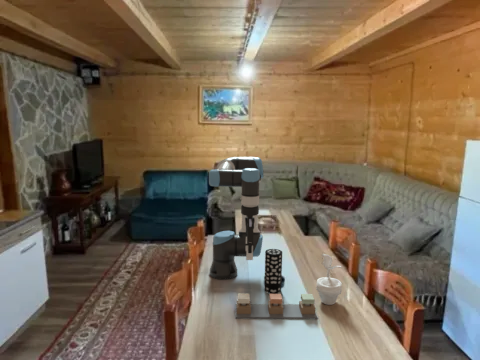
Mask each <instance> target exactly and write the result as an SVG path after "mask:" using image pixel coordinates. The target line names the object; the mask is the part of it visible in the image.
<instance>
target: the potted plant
mask: <svg viewBox="0 0 480 360" xmlns="http://www.w3.org/2000/svg"><path fill="white" fill-rule="evenodd" d="M320 255H321V258H322V260H323V261H322V262H321V265H322V266H323V267H324V269H326V276H324V277H319V278H317V280H316V287H315V289H316V291H317V292H318V295H319V298H320V301H321V303H322V304H325V305H329V306H331V305H334V304H336V302H337V300H338V297H339V295H341V294H342V291H343V289H342V288H343V283H342V282H341V280H340V279H337V278H335V277H331V270H334V269H335V268H338V269H339V268H341V269H342V268H343V267H342V266H341V265H333V266H332V264H333V257H332V256H330V255H329V254H326V253H324V252H322V253H321V254H320ZM316 261H317V263H319V262H320V260H319V259H317V260H316Z"/></svg>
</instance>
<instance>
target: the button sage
mask: <svg viewBox="0 0 480 360" xmlns="http://www.w3.org/2000/svg"><path fill="white" fill-rule="evenodd" d="M300 301H302V303H303V304H305V306H310V304H314V305H315V297H314V294H312V293H300Z"/></svg>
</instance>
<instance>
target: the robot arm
mask: <svg viewBox="0 0 480 360" xmlns="http://www.w3.org/2000/svg"><path fill="white" fill-rule="evenodd" d="M263 166H264V165H263V161H262V158H261V157H256V156H229V157H227V158H224V159H222V160H220V161H219V162H218V164H217V166H216V168H215V169H210V170H209V173H208V185H209V186H210V187H216V188H217V187H224V188H225V187H229V188H231V187H233V188H235V187H236V188H241V195H240V198H239V200H241V201H240V203H241V205H240V213H241V228H240V229H239V230H238V234H236V233H235V231H232V230H223V231H219V232H216V233H214V235H213V238H212V262H211V265H210V268H209V276H210V277H212V278H213V279H216V280H231V279H233V278H236V277H237V276H238V267H237V265H236V262H235V257H240V258H241V257H243V258H244V257H246V258H245V260H246V261H253V260H254V258H255V257H256V258H257V257H259V256H261V253H262V248H263V247H262V246H263V238H264V236H263V235H262V234H261V231H260V230H259V228H258V215H260V214H259V213H260V207H259V206H260V205H259V204H260V183H261V182H262V180H263V179H264V178H265V177H264V176H265V175H264V167H263Z"/></svg>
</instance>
